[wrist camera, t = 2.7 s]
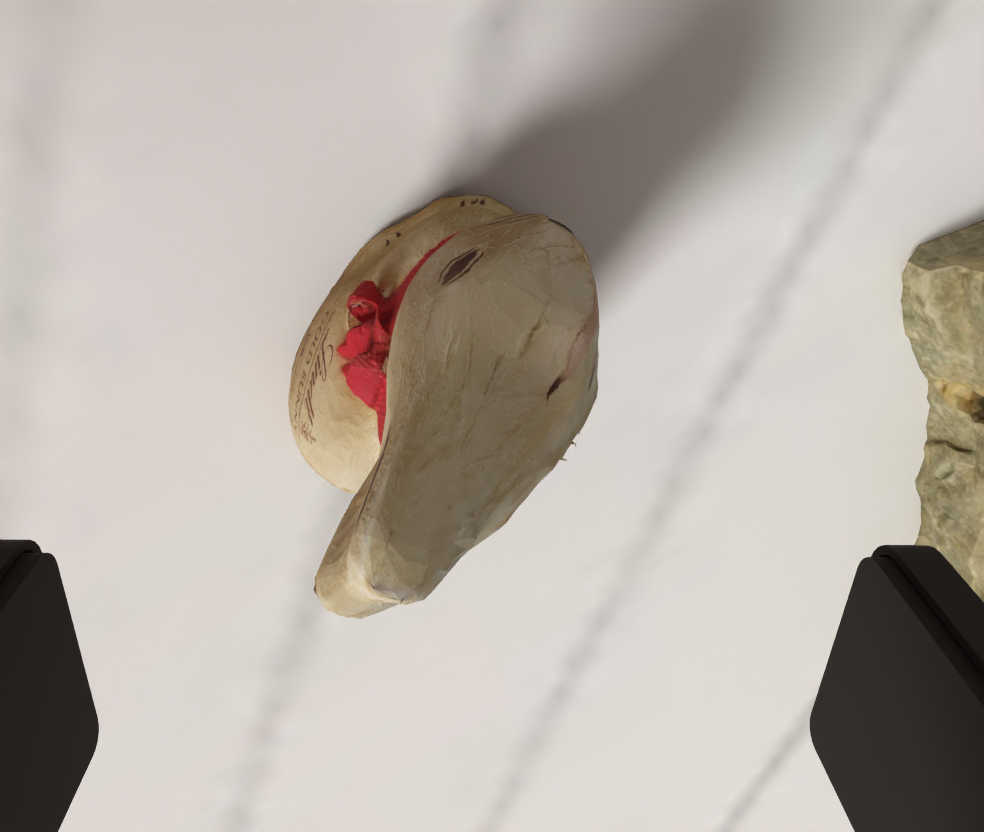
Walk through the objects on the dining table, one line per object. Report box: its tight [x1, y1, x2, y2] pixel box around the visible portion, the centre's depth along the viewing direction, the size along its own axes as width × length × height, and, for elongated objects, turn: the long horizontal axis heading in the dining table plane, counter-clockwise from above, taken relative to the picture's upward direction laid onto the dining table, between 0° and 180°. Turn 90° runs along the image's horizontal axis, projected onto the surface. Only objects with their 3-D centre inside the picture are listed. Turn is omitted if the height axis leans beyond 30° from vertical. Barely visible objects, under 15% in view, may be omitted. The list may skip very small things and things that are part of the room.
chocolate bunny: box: [289, 195, 599, 619], centre depth 14 cm, size 6×8×10 cm
